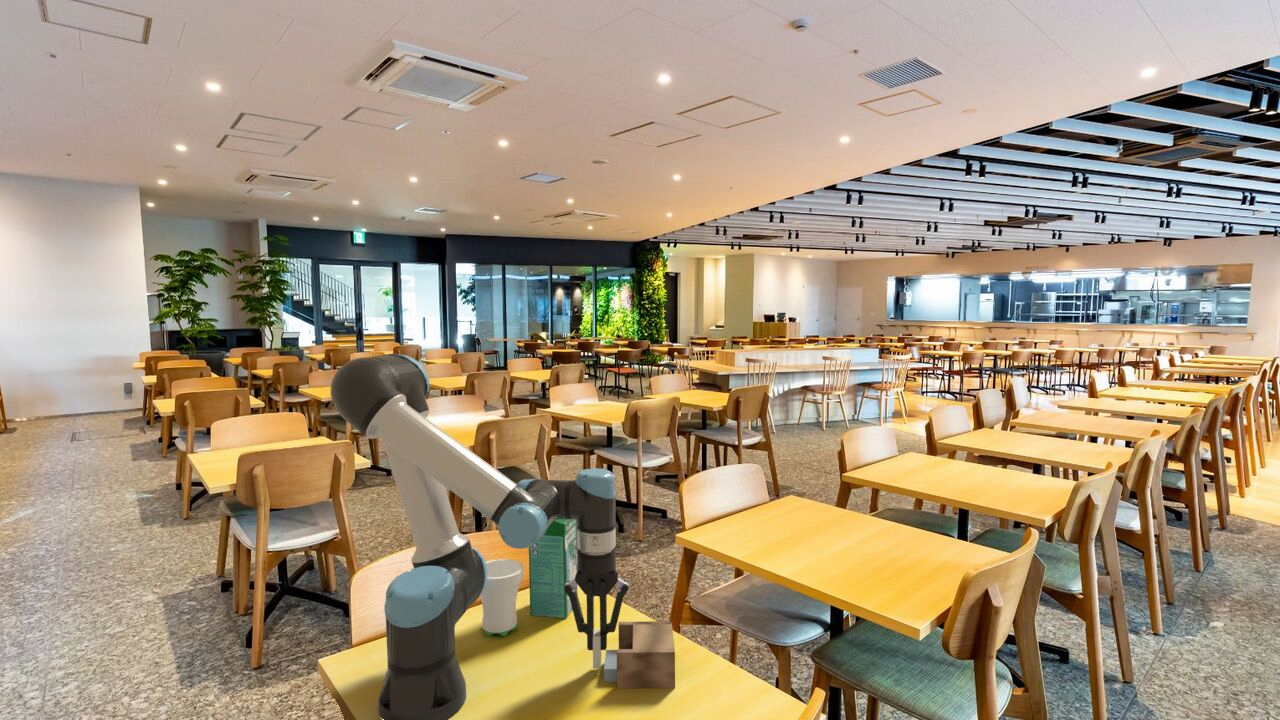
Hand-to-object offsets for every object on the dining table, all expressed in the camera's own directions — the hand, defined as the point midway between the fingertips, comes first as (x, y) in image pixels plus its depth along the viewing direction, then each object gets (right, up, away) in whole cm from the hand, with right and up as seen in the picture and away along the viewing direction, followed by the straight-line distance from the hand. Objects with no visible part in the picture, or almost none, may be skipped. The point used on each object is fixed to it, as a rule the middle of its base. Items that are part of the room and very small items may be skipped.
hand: (597, 664), depth 124 cm
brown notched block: (+10, -1, 0) cm, 10 cm away
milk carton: (-12, 0, +27) cm, 30 cm away
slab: (+7, -2, 0) cm, 7 cm away
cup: (-23, -1, +17) cm, 29 cm away
